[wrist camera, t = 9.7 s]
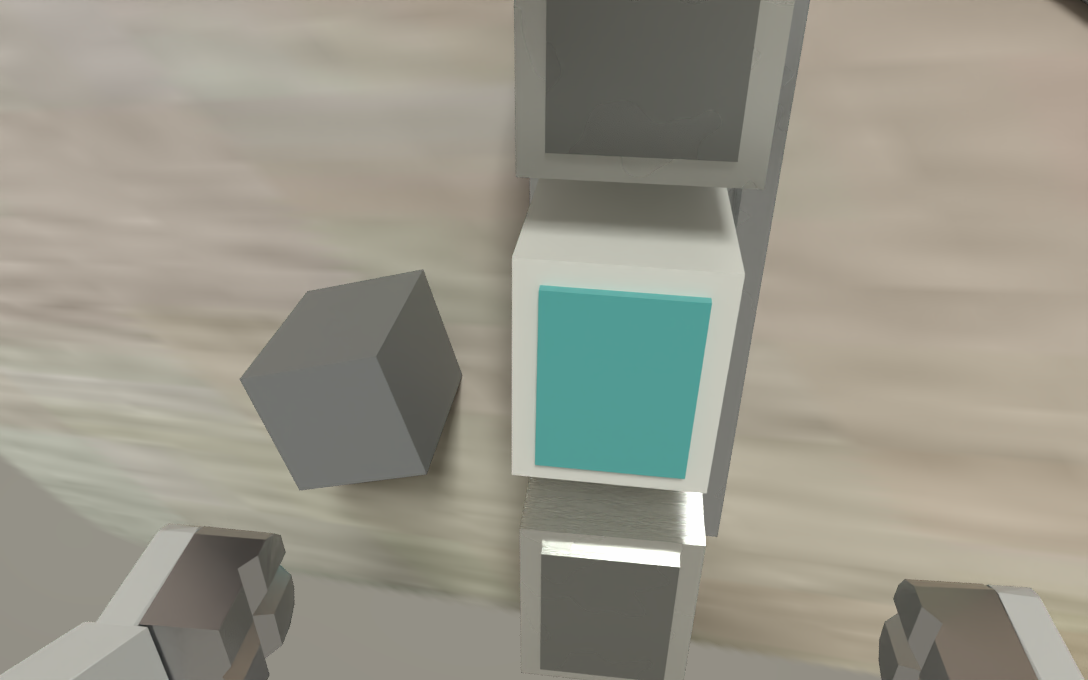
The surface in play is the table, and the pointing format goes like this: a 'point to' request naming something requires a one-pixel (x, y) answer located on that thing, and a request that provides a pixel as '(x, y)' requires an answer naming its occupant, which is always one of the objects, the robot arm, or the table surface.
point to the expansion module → (622, 332)
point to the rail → (751, 180)
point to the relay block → (357, 382)
